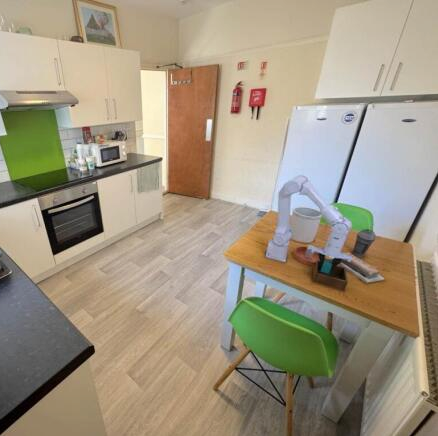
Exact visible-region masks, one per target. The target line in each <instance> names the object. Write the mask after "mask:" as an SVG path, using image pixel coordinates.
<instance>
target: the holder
mask: <svg viewBox="0 0 438 436" xmlns="http://www.w3.org/2000/svg"><path fill="white" fill-rule="evenodd" d="M319 265H320V261H318V260H316V263H315V265H314V266H313V269H312V270H313V271H312V273H313V274H312V282H313V283H316V284H319V285H322V286H325V287H328V288H332V289H334V290H339V291H341V292H344V291H345V289H346V287H347V285H348V283H349V281H348V275H347V270H346V268H345V267H342V266H340V265H339V264H338V265H337V266H335V267H334V268H333V269H332V270H331V271H330V272H329V274H328V273H324V272H321V271H320V268H319Z"/></svg>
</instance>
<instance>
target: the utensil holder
mask: <svg viewBox="0 0 438 436" xmlns="http://www.w3.org/2000/svg"><path fill="white" fill-rule="evenodd" d="M322 218H323V216H322V215H321V214H320V209H319V208H315V207H312V206H309V205H307V206H306V205H298V206H295V207H293V208H292V214H291V216H290V226H291V231H292V233H293V237H292V238H291V239H292V240H293V241H296V242H299V243H307V244H308V243H313V241H314V240H315V237H316V235H317V233H318V229H319V226H320V223H321V220H322Z"/></svg>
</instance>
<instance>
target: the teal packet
mask: <svg viewBox="0 0 438 436" xmlns="http://www.w3.org/2000/svg"><path fill="white" fill-rule="evenodd" d="M332 260H333V259H331V258H327V257H326V258H325V260H324V262H323V264H322V267H321V268H320V271H321V272H324V273H328V274H329V272H330V269H331V267H332Z"/></svg>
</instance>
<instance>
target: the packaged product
mask: <svg viewBox="0 0 438 436" xmlns="http://www.w3.org/2000/svg"><path fill="white" fill-rule="evenodd" d="M342 253H343V254H346V255H349V256H351V257H352V259H351V261H350V262H348V261H347V260H343V259H342V262H341V263H340V264H338V266H342V267H345V268H346V271H347V272H349V273H351V274H352V275H353V276H355V277H356V278H358V279H359V280H360V281H362V282H363V283H365V284H370V283H376V282H380V281H384V280H385V278H384V276H382V275H380V273H381V271H380V270H378V269H376V268H375V267H374V266H371V265H370V264H368V263H366V262H365V261H363V260H362V259H361V258H358V257H355V256H354V255H353V253H351V252H347V251H346V252H342Z"/></svg>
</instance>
